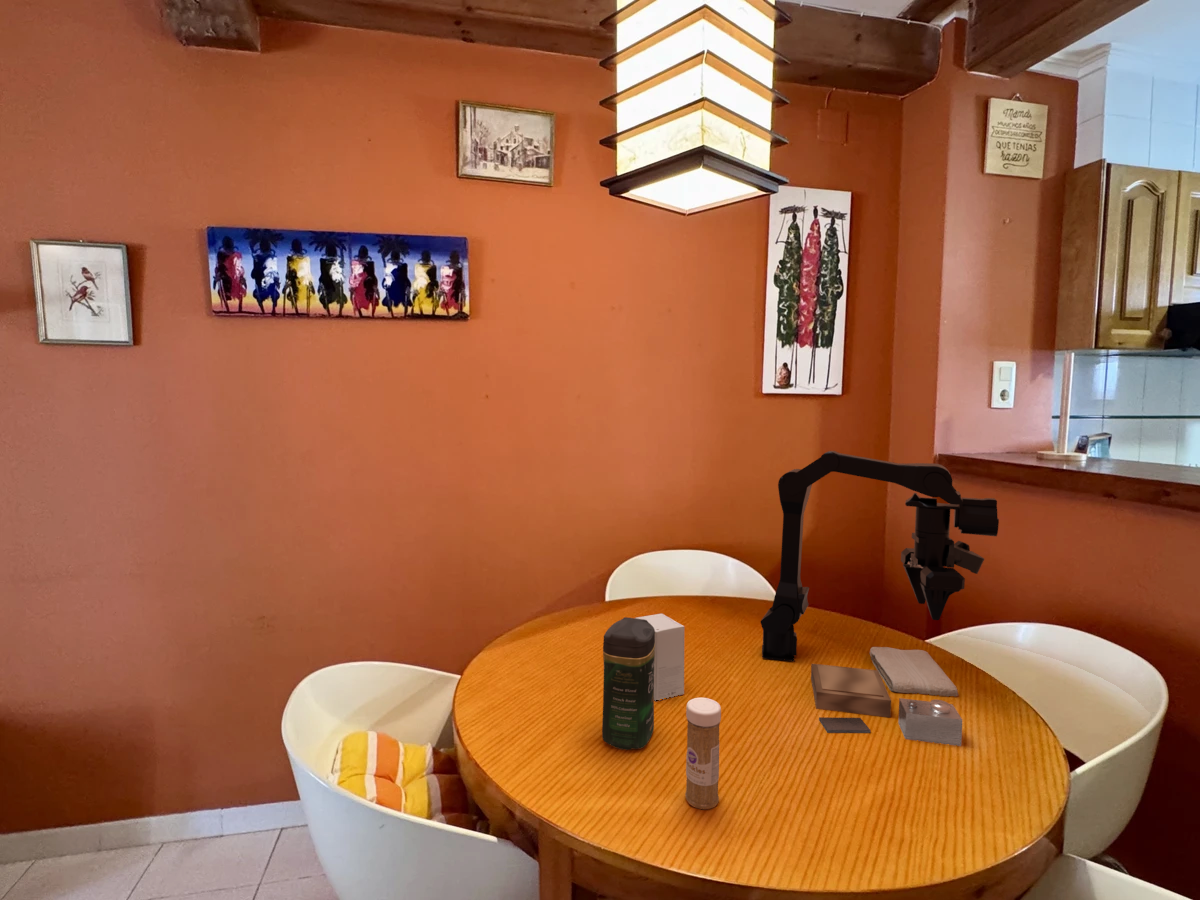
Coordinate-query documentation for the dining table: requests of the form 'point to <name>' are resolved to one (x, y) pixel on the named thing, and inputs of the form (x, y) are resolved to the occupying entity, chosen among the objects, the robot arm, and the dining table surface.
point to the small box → (667, 656)
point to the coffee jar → (628, 683)
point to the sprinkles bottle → (702, 752)
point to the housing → (930, 721)
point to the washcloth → (911, 672)
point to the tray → (850, 690)
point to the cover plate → (844, 725)
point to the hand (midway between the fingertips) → (928, 611)
